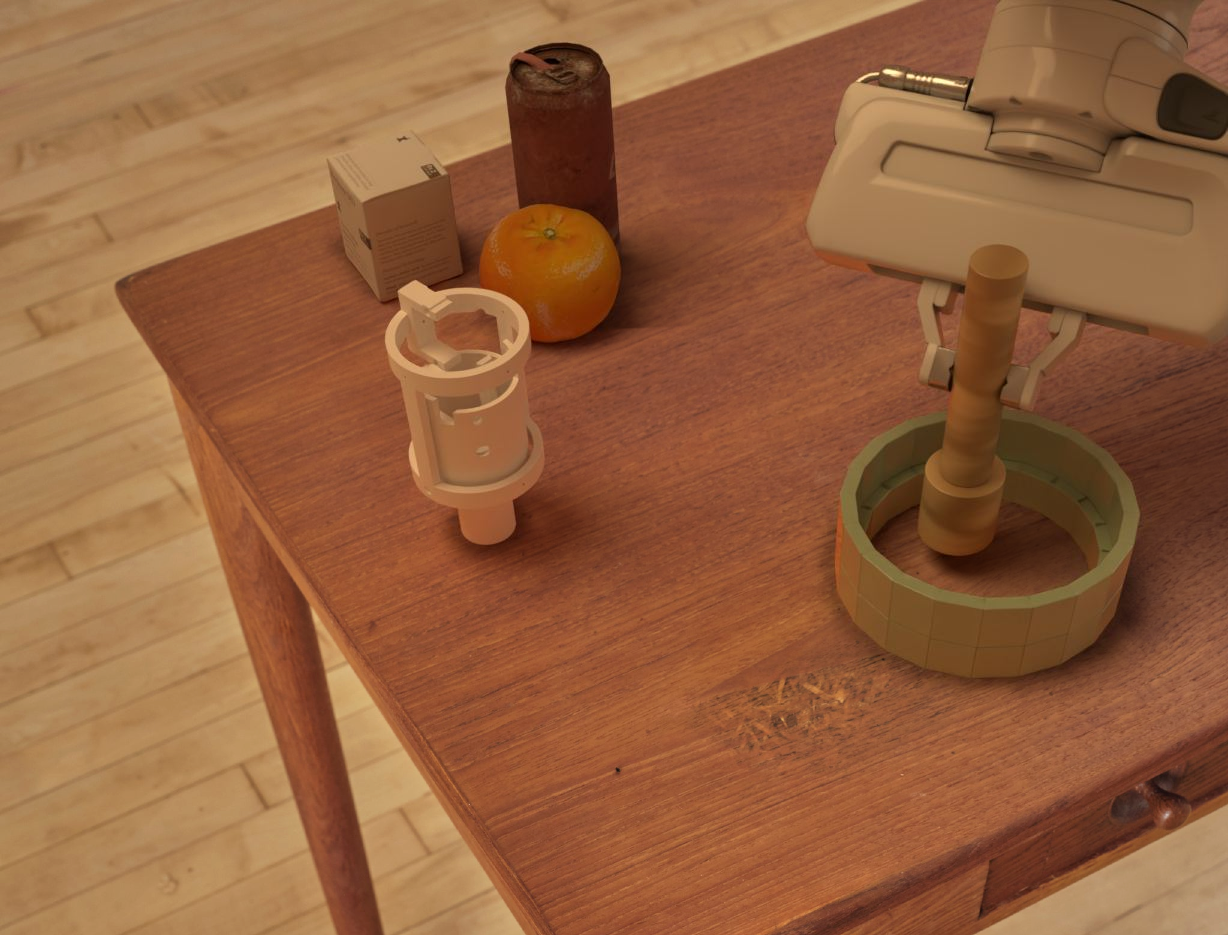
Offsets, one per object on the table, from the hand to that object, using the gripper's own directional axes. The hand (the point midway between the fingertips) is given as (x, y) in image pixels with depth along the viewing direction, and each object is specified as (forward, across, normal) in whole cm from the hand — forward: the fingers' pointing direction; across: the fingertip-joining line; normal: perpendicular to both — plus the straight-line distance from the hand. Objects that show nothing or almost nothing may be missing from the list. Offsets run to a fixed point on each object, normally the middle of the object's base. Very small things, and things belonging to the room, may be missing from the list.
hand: (975, 397), depth 76 cm
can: (-3, -31, +20) cm, 37 cm away
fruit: (0, -30, +17) cm, 34 cm away
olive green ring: (+9, +2, +8) cm, 12 cm away
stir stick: (+6, 0, +7) cm, 9 cm away
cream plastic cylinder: (+13, -24, +4) cm, 28 cm away
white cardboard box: (-1, -41, +18) cm, 45 cm away
